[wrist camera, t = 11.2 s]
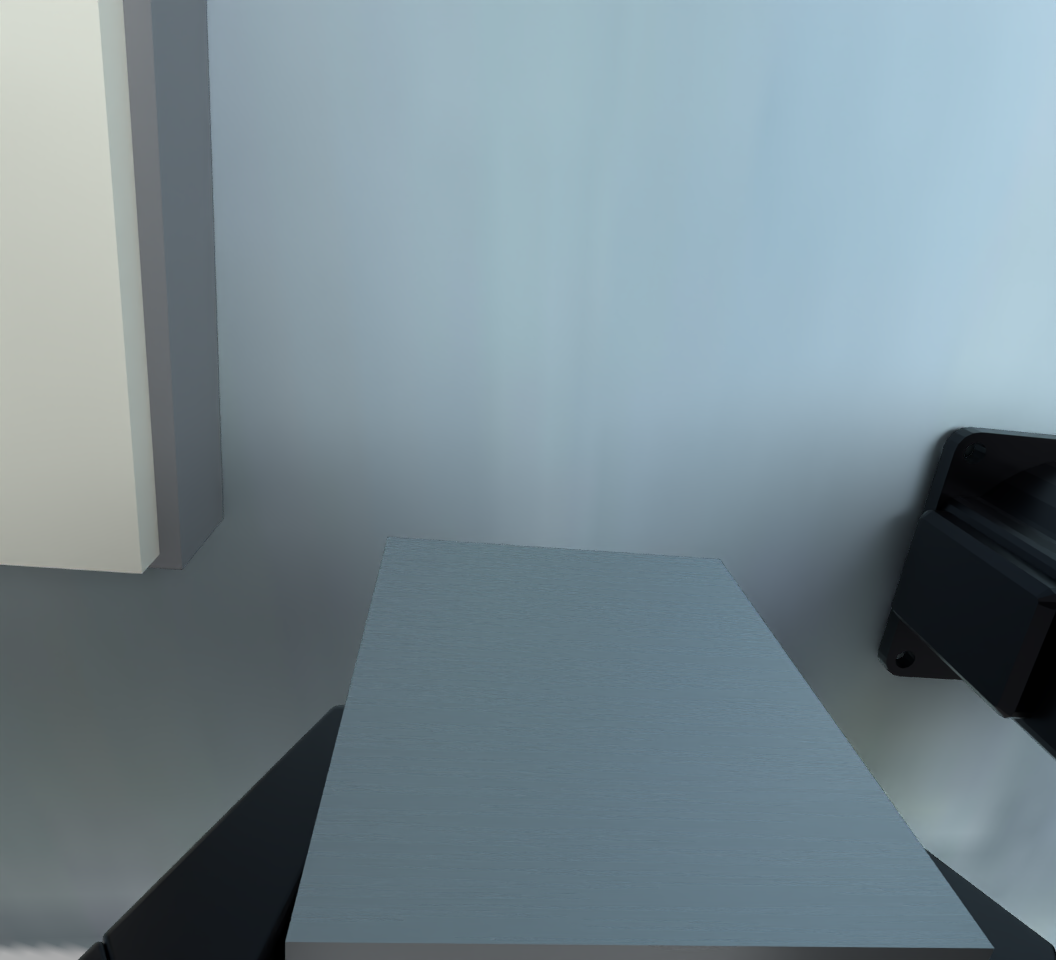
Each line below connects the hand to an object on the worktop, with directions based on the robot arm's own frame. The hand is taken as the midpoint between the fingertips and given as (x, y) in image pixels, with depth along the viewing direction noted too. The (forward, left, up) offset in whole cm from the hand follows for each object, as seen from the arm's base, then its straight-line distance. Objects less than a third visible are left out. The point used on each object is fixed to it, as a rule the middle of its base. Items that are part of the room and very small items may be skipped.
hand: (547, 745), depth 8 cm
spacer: (0, 0, -1) cm, 1 cm away
